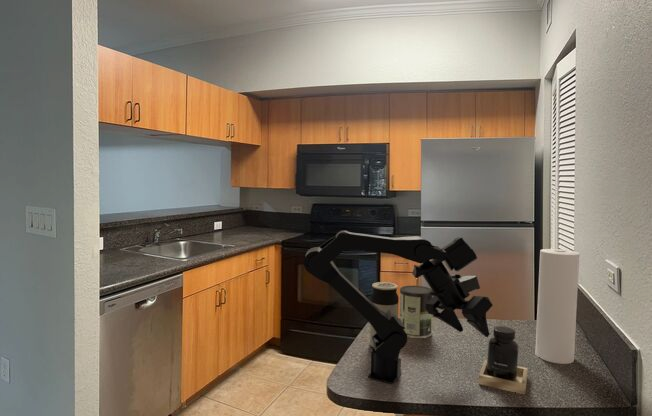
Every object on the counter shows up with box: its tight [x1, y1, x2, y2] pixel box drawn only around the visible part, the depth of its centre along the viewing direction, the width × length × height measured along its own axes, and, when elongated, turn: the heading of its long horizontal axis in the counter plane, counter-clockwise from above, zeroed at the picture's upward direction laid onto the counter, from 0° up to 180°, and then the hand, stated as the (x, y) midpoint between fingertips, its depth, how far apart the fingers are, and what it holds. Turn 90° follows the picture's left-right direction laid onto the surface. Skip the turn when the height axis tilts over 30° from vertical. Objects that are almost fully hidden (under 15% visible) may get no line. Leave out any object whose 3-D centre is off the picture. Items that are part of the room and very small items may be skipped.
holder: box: [478, 359, 528, 396], centre depth 100 cm, size 10×10×2 cm
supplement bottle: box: [486, 325, 520, 381], centre depth 100 cm, size 7×7×12 cm
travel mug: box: [369, 281, 400, 348], centre depth 121 cm, size 8×8×18 cm
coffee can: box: [399, 285, 433, 339], centre depth 131 cm, size 10×10×14 cm
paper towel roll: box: [534, 248, 580, 365], centre depth 114 cm, size 9×9×30 cm
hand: (474, 333), depth 102 cm, fingers open, 9 cm apart
